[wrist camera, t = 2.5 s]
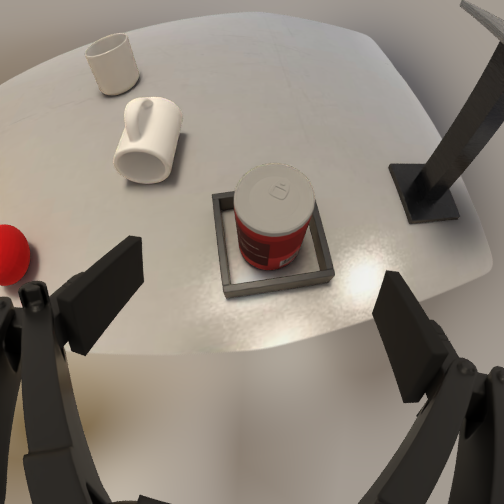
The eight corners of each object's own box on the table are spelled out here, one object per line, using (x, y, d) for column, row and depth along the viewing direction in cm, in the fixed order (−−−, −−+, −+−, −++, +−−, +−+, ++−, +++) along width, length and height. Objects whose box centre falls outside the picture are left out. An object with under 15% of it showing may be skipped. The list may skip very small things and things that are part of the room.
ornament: (2, 297, 35) (-39, 277, 26) (6, 246, 38) (-31, 220, 29) (40, 287, 36) (-4, 264, 27) (42, 233, 39) (5, 202, 30)
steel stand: (460, 222, 39) (578, 94, 11) (407, 227, 39) (533, 63, 11) (436, 165, 43) (520, 30, 15) (384, 164, 43) (461, -1, 15)
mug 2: (187, 131, 45) (173, 73, 34) (176, 183, 42) (154, 125, 30) (140, 135, 45) (118, 81, 34) (124, 185, 42) (92, 132, 31)
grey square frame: (306, 194, 41) (310, 181, 38) (329, 282, 36) (335, 275, 33) (214, 206, 40) (211, 194, 37) (225, 298, 35) (223, 292, 33)
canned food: (304, 220, 39) (319, 170, 29) (294, 278, 36) (309, 241, 26) (246, 209, 40) (244, 156, 30) (232, 265, 37) (223, 224, 27)
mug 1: (136, 92, 50) (121, 48, 40) (97, 102, 50) (78, 61, 40) (145, 62, 55) (134, 23, 44) (110, 71, 54) (96, 34, 44)
